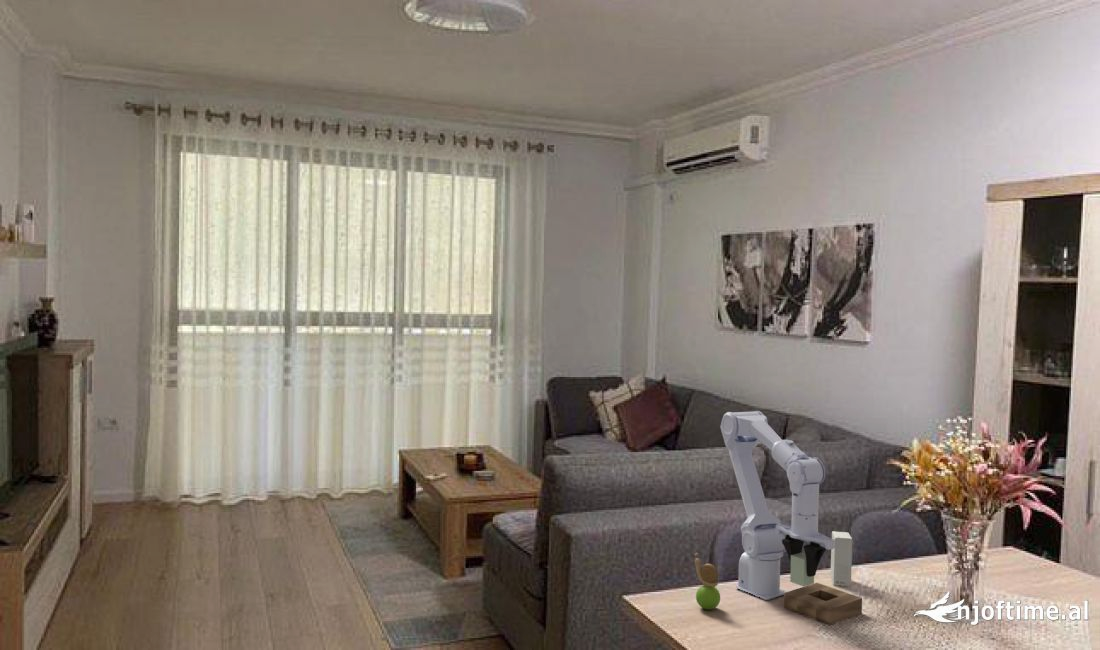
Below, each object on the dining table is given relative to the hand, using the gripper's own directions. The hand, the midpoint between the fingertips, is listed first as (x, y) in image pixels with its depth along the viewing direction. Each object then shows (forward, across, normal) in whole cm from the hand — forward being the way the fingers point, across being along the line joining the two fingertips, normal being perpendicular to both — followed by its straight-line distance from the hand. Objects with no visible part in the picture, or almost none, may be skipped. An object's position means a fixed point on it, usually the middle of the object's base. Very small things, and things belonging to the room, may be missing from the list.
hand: (803, 572), depth 183 cm
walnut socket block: (+9, +1, +6) cm, 11 cm away
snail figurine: (+10, -14, -16) cm, 23 cm away
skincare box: (+10, -8, +26) cm, 28 cm away
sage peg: (+2, 0, 0) cm, 2 cm away
